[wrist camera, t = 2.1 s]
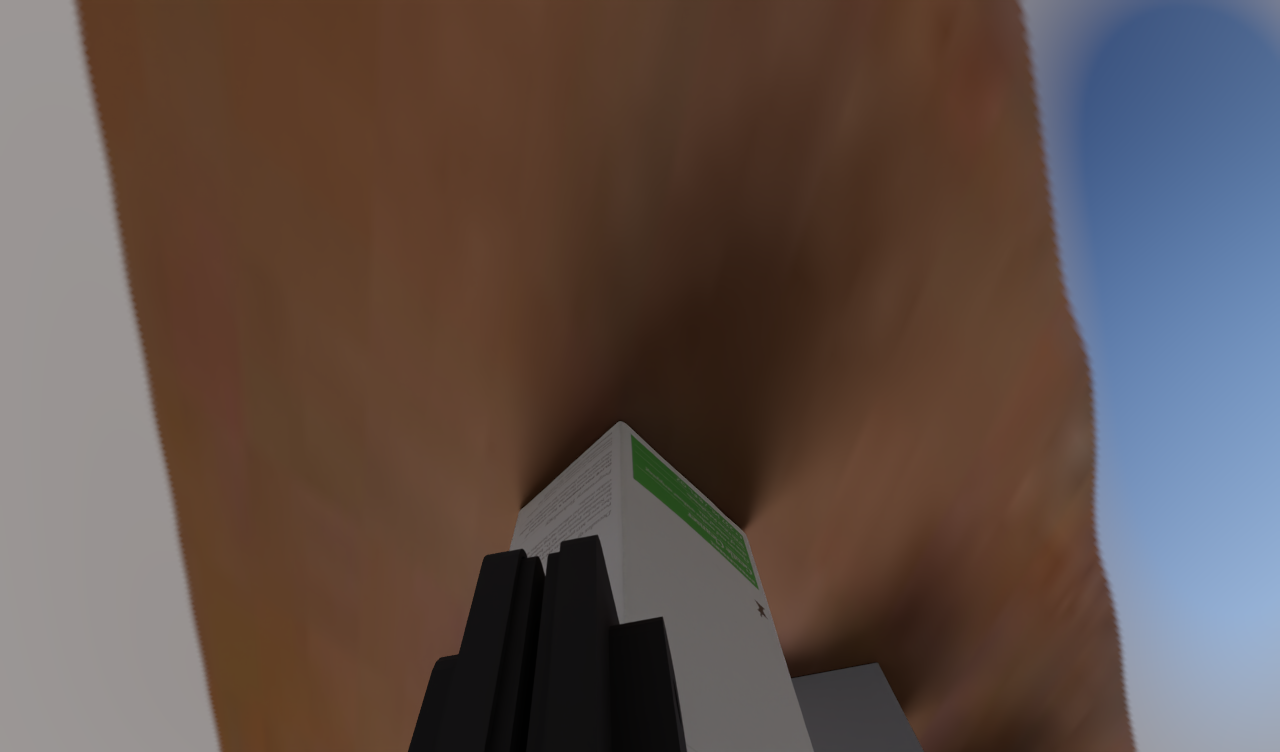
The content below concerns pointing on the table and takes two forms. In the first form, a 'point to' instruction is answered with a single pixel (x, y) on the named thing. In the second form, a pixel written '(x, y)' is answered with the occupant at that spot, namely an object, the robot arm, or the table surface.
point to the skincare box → (678, 588)
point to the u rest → (853, 712)
